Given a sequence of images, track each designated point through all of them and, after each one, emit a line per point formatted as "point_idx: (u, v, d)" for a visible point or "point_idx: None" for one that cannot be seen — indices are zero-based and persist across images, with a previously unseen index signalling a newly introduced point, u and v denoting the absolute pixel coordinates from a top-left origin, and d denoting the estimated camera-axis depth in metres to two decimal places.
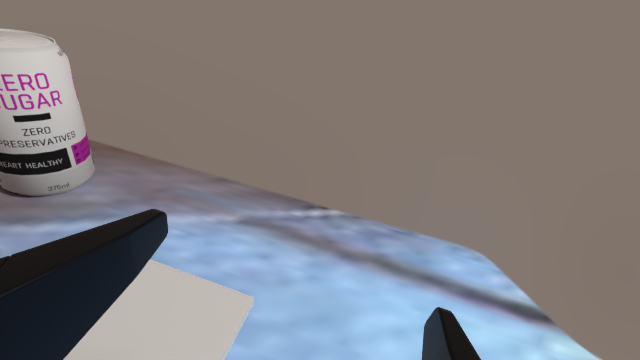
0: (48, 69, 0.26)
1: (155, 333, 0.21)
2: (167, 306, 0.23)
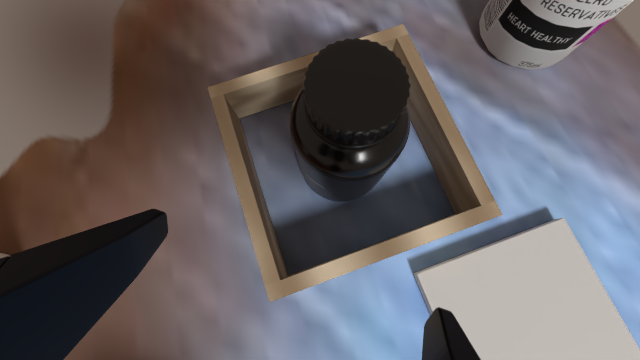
0: None
1: (547, 336, 0.20)
2: (570, 317, 0.20)
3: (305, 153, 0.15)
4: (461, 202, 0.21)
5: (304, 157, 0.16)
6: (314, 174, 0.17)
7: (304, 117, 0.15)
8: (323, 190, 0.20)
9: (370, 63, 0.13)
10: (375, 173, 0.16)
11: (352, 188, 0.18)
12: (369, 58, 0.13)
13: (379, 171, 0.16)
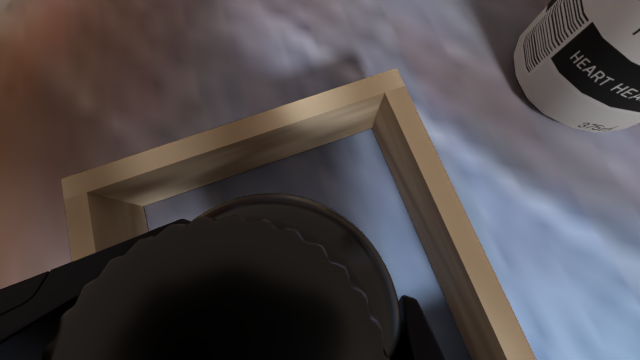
0: None
1: None
2: None
3: None
4: None
5: None
6: None
7: None
8: None
9: (263, 317, 0.04)
10: None
11: None
12: (261, 298, 0.04)
13: None
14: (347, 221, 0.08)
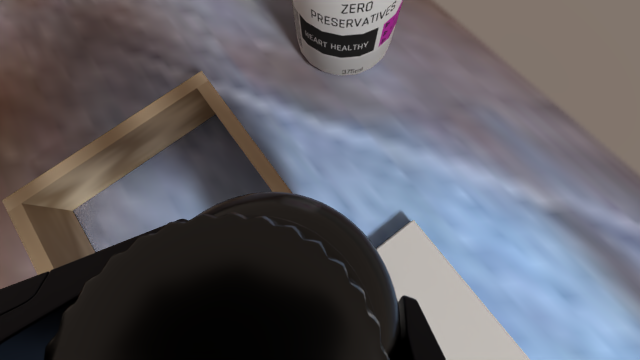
0: None
1: None
2: (437, 320, 0.20)
3: None
4: None
5: None
6: None
7: None
8: None
9: (262, 313, 0.04)
10: None
11: None
12: (260, 294, 0.04)
13: None
14: (346, 219, 0.08)
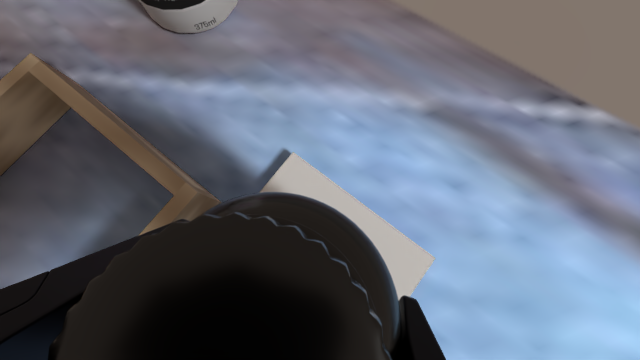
0: None
1: None
2: None
3: None
4: None
5: None
6: None
7: None
8: None
9: (265, 312, 0.04)
10: None
11: None
12: (263, 293, 0.04)
13: None
14: (347, 219, 0.08)
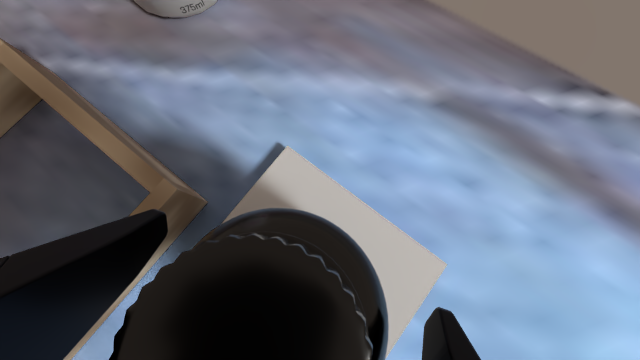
0: None
1: None
2: None
3: None
4: None
5: None
6: None
7: None
8: None
9: (277, 311, 0.05)
10: None
11: None
12: (275, 297, 0.05)
13: None
14: (343, 232, 0.09)
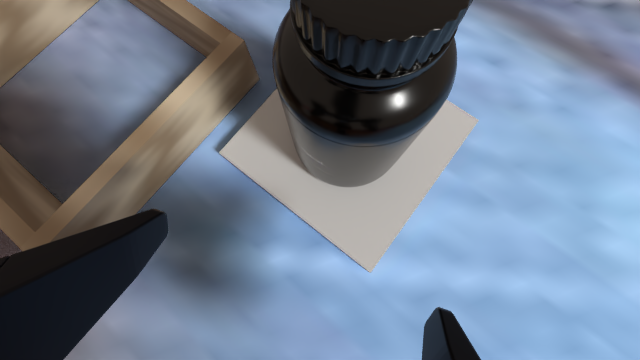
0: None
1: None
2: None
3: (295, 102, 0.10)
4: None
5: (294, 110, 0.10)
6: (310, 140, 0.12)
7: (293, 44, 0.10)
8: (323, 169, 0.15)
9: None
10: (404, 135, 0.10)
11: (365, 163, 0.12)
12: None
13: (410, 132, 0.10)
14: None
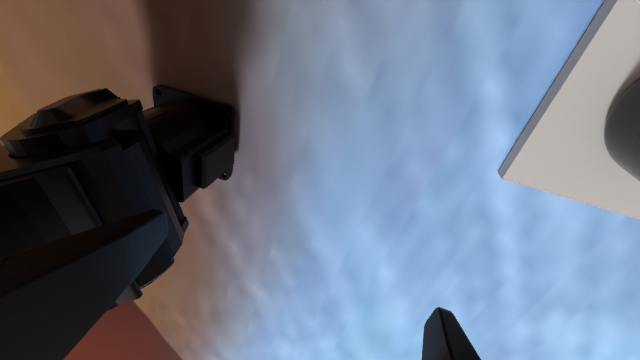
0: None
1: None
2: None
3: None
4: None
5: None
6: None
7: None
8: None
9: None
10: None
11: None
12: None
13: None
14: None
